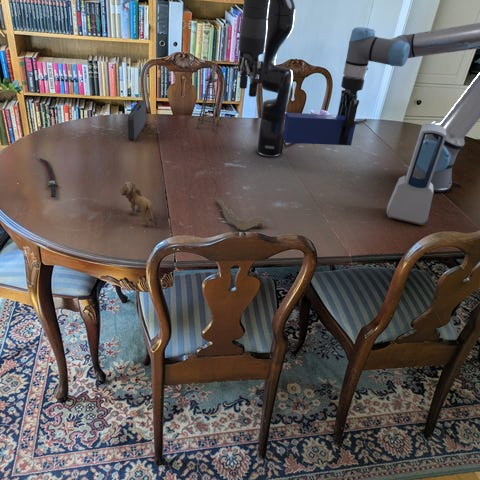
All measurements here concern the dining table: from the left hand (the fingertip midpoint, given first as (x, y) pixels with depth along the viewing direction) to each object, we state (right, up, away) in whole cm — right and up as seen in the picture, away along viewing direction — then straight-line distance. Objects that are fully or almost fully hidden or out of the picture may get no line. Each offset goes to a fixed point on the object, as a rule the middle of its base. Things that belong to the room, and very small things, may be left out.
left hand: (247, 92), depth 141 cm
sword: (-65, -25, +10) cm, 70 cm away
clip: (+35, +5, +73) cm, 81 cm away
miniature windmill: (-16, +5, +64) cm, 66 cm away
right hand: (+35, -8, +32) cm, 48 cm away
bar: (+26, -8, +31) cm, 42 cm away
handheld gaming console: (-45, 0, +52) cm, 68 cm away
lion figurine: (-32, -38, -5) cm, 50 cm away
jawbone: (-2, -37, +1) cm, 37 cm away
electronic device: (+51, -38, +10) cm, 64 cm away
